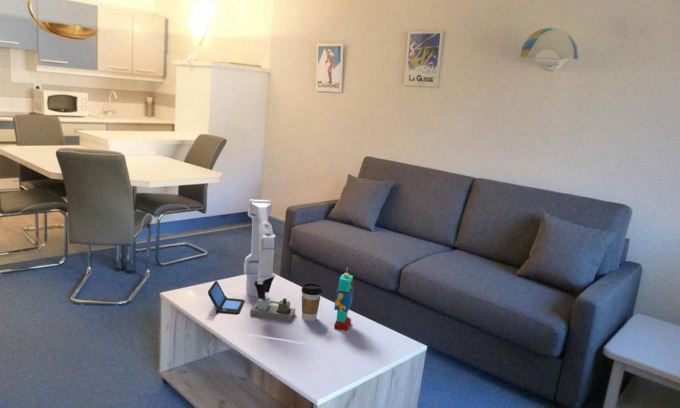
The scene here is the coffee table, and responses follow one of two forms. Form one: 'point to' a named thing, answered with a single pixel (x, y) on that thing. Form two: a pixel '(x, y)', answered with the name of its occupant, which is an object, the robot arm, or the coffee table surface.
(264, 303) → the plug
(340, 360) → the coffee table surface
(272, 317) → the power strip
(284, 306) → the twin plug
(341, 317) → the toy robot
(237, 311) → the handheld game console
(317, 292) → the coffee cup
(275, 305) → the tray
